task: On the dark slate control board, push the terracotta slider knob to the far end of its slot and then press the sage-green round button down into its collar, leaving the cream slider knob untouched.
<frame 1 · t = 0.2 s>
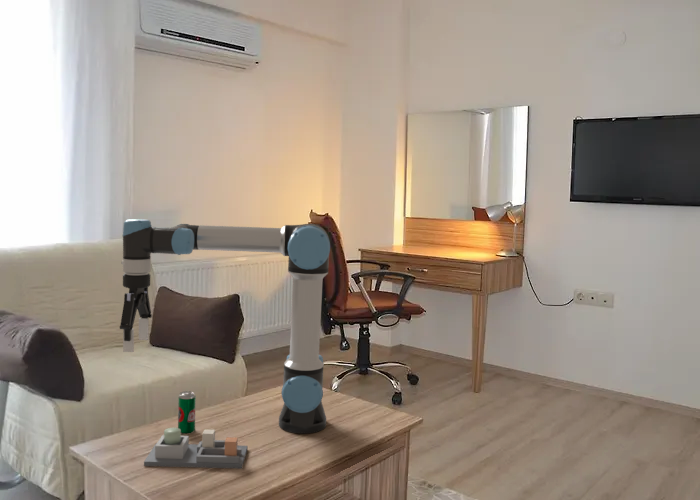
hand: (136, 345, 185), 28 cm above the table, fingers open, 13 cm apart
knob cream: (208, 440, 179), point 4 cm above the table, slide at 0.0 cm
knob terracotta: (231, 448, 174), point 4 cm above the table, slide at 0.0 cm
soda can: (186, 432, 194), on the table
button: (172, 435, 176), point 6 cm above the table, slide at 0.0 cm
panel: (197, 457, 177), on the table
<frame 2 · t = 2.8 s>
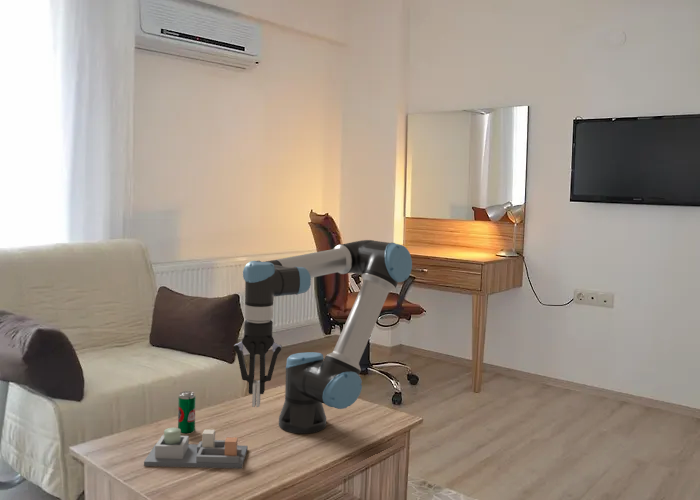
hand: (256, 405, 173), 16 cm above the table, fingers closed
nothing on the table moved.
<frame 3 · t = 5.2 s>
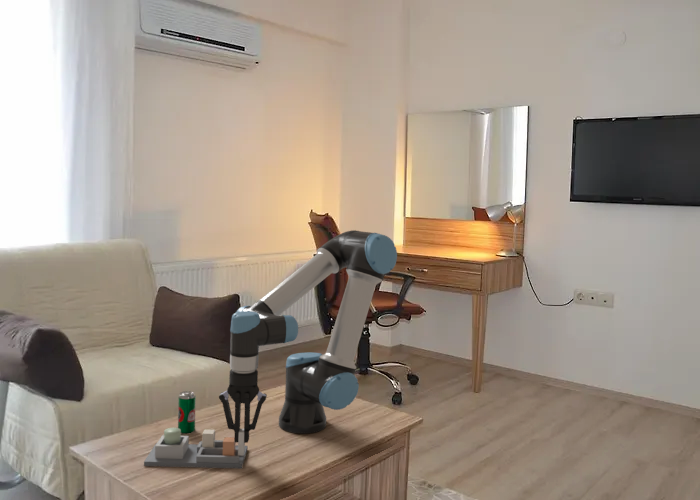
hand: (241, 453, 174), 3 cm above the table, fingers closed
knob terracotta: (229, 448, 174), point 4 cm above the table, slide at 0.5 cm, touching gripper
everything else where it was.
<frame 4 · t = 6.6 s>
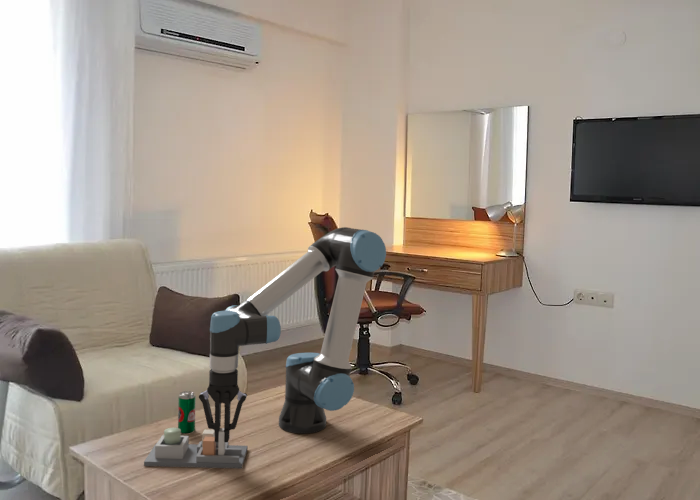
hand: (221, 452, 174), 3 cm above the table, fingers closed
knob terracotta: (209, 447, 174), point 4 cm above the table, slide at 5.9 cm, touching gripper
everything else where it was.
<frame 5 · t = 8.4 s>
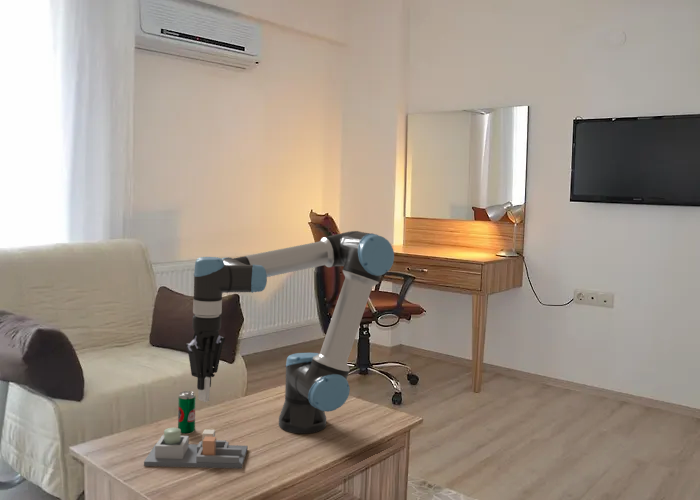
hand: (203, 400, 173), 17 cm above the table, fingers closed
knob terracotta: (209, 447, 174), point 4 cm above the table, slide at 5.9 cm
everything else where it was.
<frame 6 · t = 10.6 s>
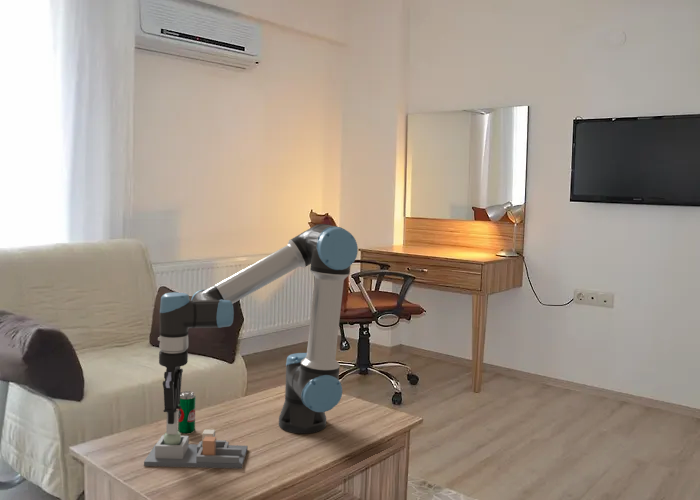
hand: (171, 433, 176), 7 cm above the table, fingers closed
button: (172, 439, 176), point 5 cm above the table, slide at 1.0 cm, touching gripper
everything else where it was.
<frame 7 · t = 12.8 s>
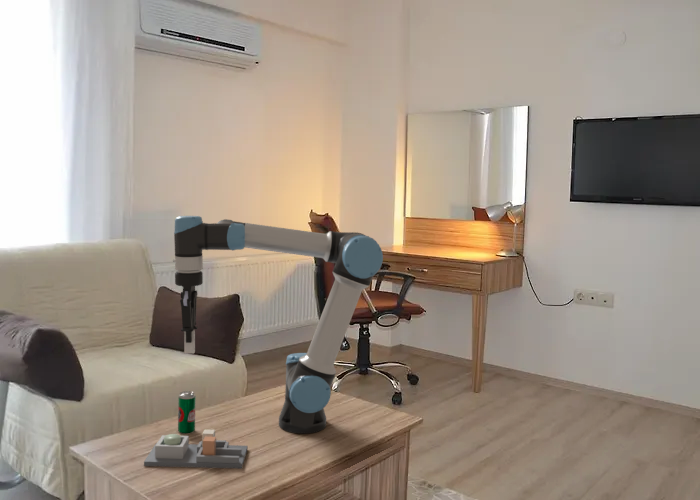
hand: (189, 352, 182), 27 cm above the table, fingers closed
button: (172, 442, 176), point 4 cm above the table, slide at 1.8 cm
everything else where it was.
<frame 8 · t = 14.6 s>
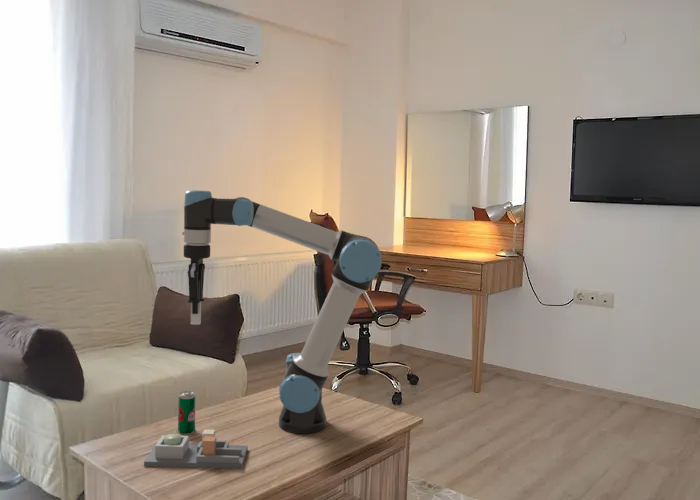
hand: (195, 323, 187), 34 cm above the table, fingers closed
nothing on the table moved.
at the end: knob terracotta slide at 5.9 cm; button slide at 1.8 cm; knob cream slide at 0.0 cm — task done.
